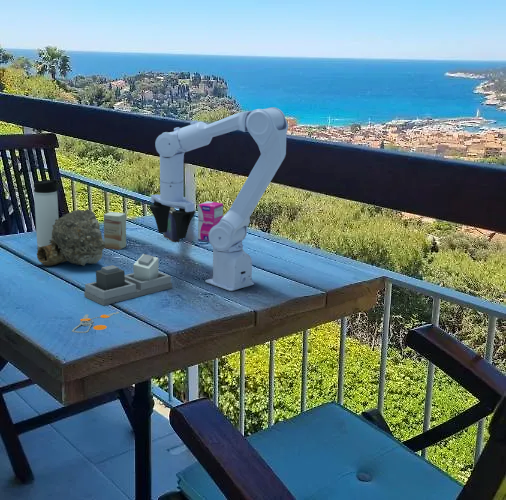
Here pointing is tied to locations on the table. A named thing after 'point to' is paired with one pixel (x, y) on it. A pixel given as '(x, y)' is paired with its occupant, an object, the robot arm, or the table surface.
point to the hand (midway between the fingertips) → (172, 235)
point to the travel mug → (45, 210)
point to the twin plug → (110, 278)
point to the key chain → (86, 319)
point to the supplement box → (208, 218)
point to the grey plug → (146, 268)
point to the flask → (171, 227)
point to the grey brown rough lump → (74, 240)
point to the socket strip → (127, 289)
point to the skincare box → (115, 230)
